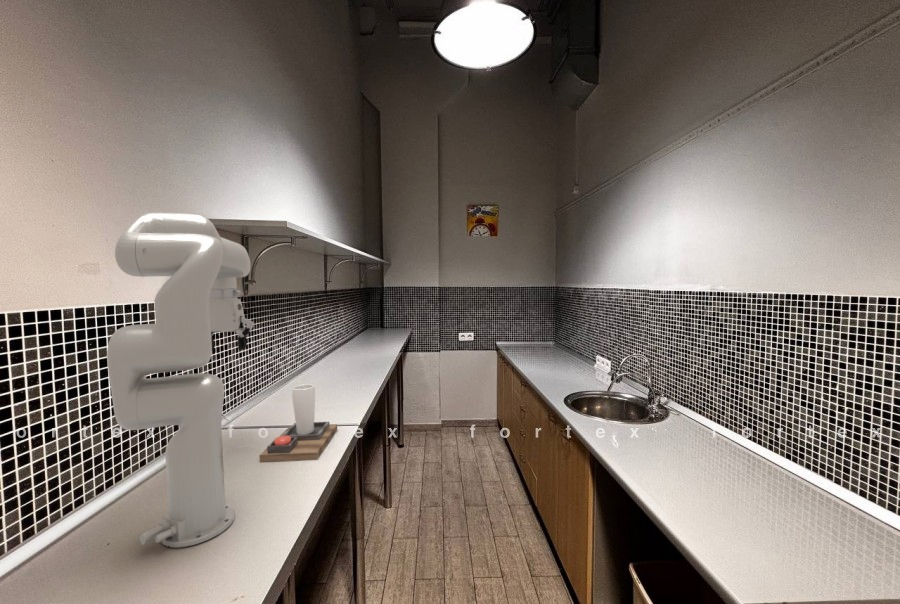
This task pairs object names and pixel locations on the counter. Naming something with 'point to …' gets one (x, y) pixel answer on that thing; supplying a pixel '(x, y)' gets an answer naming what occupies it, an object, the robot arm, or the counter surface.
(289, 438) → the button
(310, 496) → the counter surface
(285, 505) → the counter surface
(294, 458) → the brown flat wooden board
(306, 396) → the drinking glass
